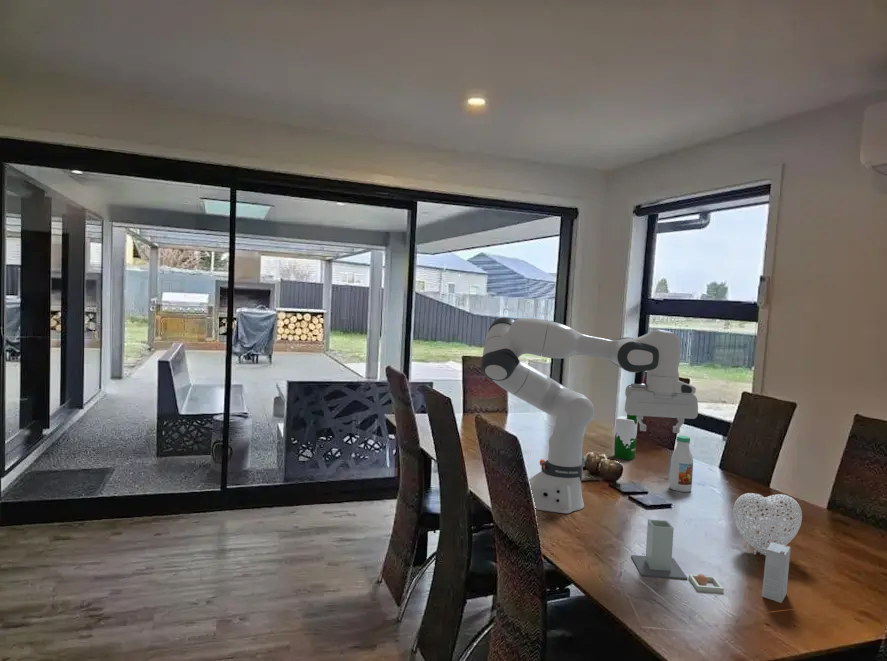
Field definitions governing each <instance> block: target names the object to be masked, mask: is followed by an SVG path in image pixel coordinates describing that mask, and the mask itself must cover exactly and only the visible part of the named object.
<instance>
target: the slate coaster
mask: <svg viewBox="0 0 887 661" xmlns="http://www.w3.org/2000/svg"><path fill="white" fill-rule="evenodd" d="M630 557H631V559H632V561H633V563H634V565H635V566H636V568H637V571H638V572H639V574H640V576H641V577H647V578H649V577H650V578H660V579H669V580H670V579H672V580H685V581H688V576H687V575H686V573H685V572H684V571H683V570H682V568H681V566H680V565H679V564H678V563H677V561H676V560H675V558H674V557H672V562H671V571H666V570H654V569H650V567H649V566H648V564H647V562H646V561H645V559H646V555H638V554H637V555H636V554H631V556H630Z"/></svg>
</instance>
